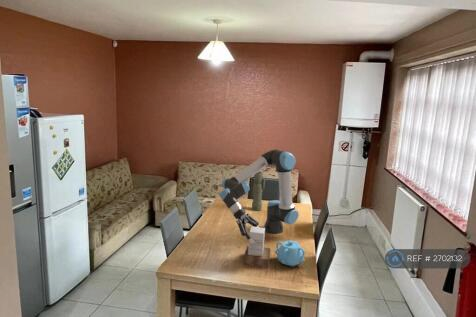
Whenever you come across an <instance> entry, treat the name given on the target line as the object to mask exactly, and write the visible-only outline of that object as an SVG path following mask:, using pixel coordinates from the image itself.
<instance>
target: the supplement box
mask: <svg viewBox="0 0 476 317" xmlns="http://www.w3.org/2000/svg"><path fill="white" fill-rule="evenodd" d="M248 233H249V234H250V235H251V236H252V238H253V239H254V241H255V242H254V243H253V244H251V243H250V241H249V240H248V246H249V248H248V255H254V256H263V251H264V248H265V234H266V231H265V228H264V227H260V226H259V227H254V226H251V227H250V229H249V232H248Z"/></svg>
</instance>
